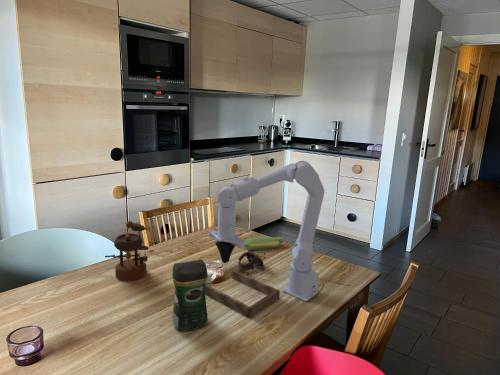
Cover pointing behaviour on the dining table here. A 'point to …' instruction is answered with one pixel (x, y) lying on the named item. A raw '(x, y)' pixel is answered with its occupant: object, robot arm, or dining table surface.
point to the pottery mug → (250, 261)
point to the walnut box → (239, 306)
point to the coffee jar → (189, 295)
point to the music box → (130, 242)
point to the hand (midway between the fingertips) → (225, 261)
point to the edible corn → (263, 243)
